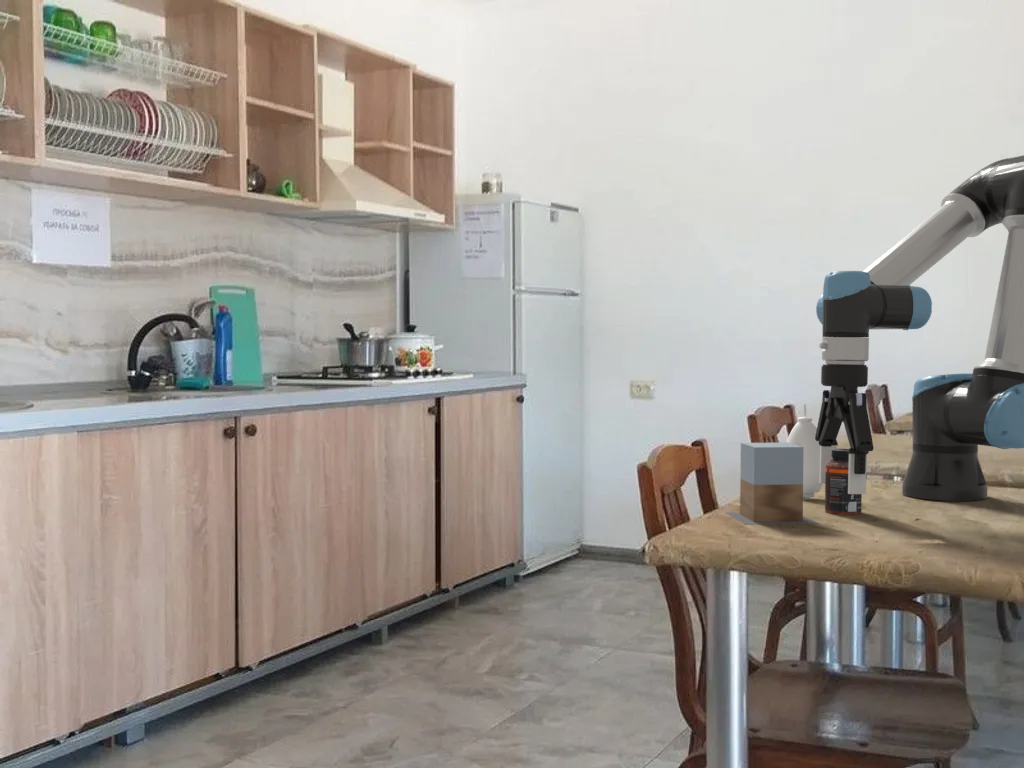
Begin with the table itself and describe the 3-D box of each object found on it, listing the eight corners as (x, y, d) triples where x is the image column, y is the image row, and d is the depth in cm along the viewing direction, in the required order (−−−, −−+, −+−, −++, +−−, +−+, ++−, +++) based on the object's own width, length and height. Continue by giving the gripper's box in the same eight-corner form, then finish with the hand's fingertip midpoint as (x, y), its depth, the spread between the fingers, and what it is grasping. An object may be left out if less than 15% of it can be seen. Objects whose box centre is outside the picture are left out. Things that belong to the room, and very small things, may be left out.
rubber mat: (794, 515, 185) (794, 511, 185) (819, 527, 173) (819, 523, 173) (725, 516, 184) (725, 512, 184) (744, 528, 172) (744, 524, 172)
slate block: (787, 478, 182) (787, 442, 182) (803, 484, 174) (803, 447, 174) (740, 478, 182) (740, 442, 182) (754, 484, 174) (754, 447, 174)
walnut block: (787, 513, 182) (787, 478, 182) (802, 521, 174) (803, 484, 174) (740, 514, 182) (740, 478, 182) (753, 522, 174) (754, 484, 174)
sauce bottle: (810, 503, 199) (811, 405, 198) (774, 498, 204) (775, 403, 204) (834, 499, 204) (835, 403, 203) (798, 494, 210) (799, 401, 209)
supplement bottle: (863, 519, 181) (864, 451, 180) (826, 518, 182) (827, 450, 181) (859, 513, 186) (860, 448, 186) (823, 512, 188) (824, 447, 187)
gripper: (798, 361, 195) (796, 479, 196) (850, 363, 170) (847, 498, 171) (839, 362, 196) (836, 479, 196) (897, 364, 171) (893, 498, 172)
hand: (841, 488), depth 184 cm, fingers open, 13 cm apart
